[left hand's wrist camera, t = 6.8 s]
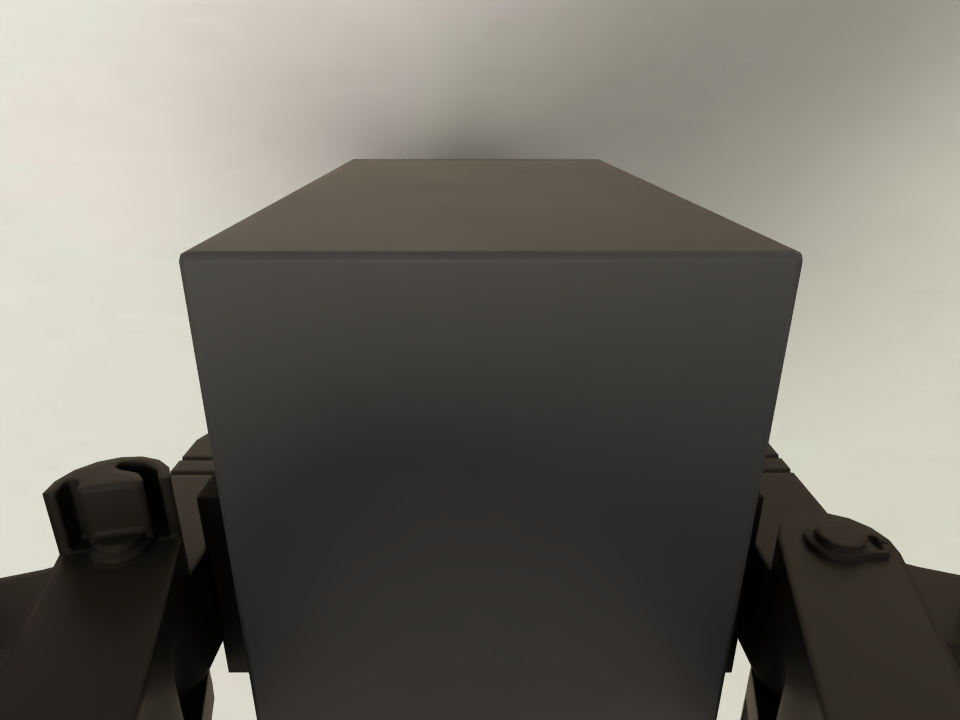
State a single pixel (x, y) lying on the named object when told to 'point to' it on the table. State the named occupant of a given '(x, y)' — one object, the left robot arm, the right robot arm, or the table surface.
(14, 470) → the table surface
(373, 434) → the beam
